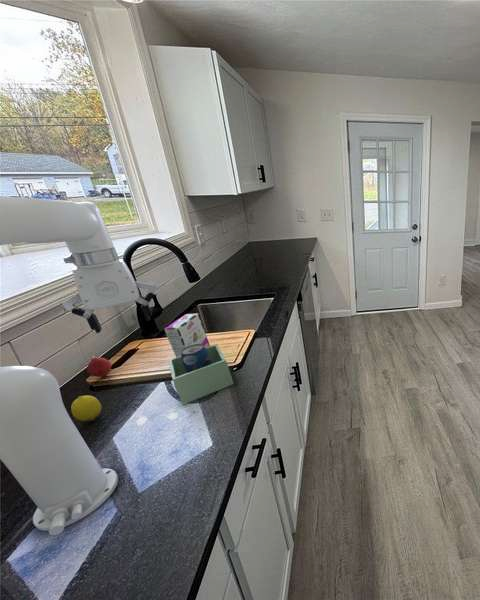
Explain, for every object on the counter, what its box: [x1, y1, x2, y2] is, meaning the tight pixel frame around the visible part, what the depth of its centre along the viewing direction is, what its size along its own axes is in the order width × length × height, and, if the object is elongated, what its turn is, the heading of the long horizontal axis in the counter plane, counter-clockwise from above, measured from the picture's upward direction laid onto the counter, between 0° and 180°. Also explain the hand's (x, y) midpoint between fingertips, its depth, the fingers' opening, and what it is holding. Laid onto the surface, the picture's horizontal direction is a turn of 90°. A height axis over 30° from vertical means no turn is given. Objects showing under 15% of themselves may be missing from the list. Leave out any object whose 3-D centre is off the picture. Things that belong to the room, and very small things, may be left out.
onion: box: [86, 355, 112, 378], centre depth 104 cm, size 6×6×8 cm
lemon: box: [70, 395, 102, 422], centre depth 85 cm, size 6×6×8 cm
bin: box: [167, 343, 235, 406], centre depth 97 cm, size 14×14×9 cm
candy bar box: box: [163, 312, 211, 358], centre depth 108 cm, size 11×5×16 cm, turn 179°
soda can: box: [181, 344, 212, 373], centre depth 96 cm, size 7×7×12 cm
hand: (124, 324), depth 78 cm, fingers open, 9 cm apart
